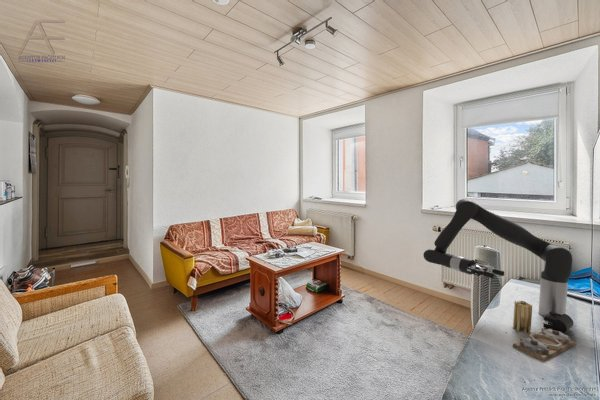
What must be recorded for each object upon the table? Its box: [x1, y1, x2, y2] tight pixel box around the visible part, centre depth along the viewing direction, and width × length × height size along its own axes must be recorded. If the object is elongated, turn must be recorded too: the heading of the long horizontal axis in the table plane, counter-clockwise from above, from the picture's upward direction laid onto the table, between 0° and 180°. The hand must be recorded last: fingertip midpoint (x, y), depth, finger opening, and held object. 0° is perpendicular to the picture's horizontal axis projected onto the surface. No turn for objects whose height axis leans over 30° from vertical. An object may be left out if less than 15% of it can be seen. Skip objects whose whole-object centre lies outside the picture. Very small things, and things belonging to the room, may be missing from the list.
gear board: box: [512, 328, 577, 362], centre depth 100 cm, size 25×9×4 cm, turn 116°
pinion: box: [512, 300, 533, 334], centre depth 111 cm, size 6×6×12 cm
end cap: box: [543, 312, 574, 334], centre depth 111 cm, size 10×7×7 cm
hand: (498, 274), depth 119 cm, fingers open, 8 cm apart
